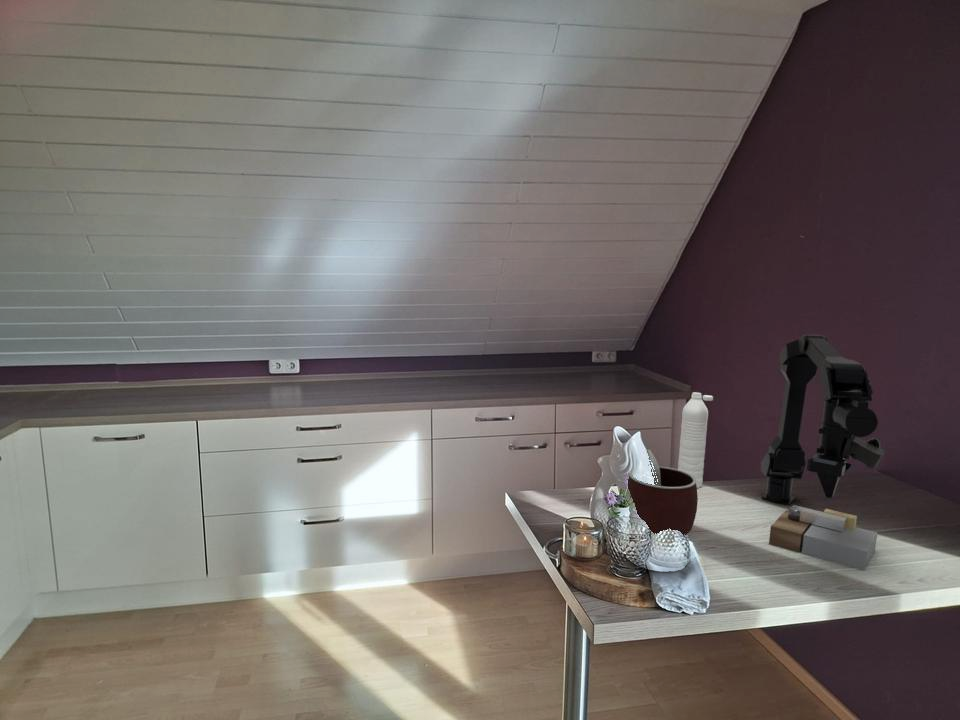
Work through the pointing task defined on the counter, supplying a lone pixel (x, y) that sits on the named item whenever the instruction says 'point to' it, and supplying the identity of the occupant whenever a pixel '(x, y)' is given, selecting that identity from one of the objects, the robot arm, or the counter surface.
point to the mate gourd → (665, 498)
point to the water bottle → (694, 437)
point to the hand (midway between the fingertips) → (829, 497)
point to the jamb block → (788, 533)
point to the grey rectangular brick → (841, 543)
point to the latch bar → (817, 518)
